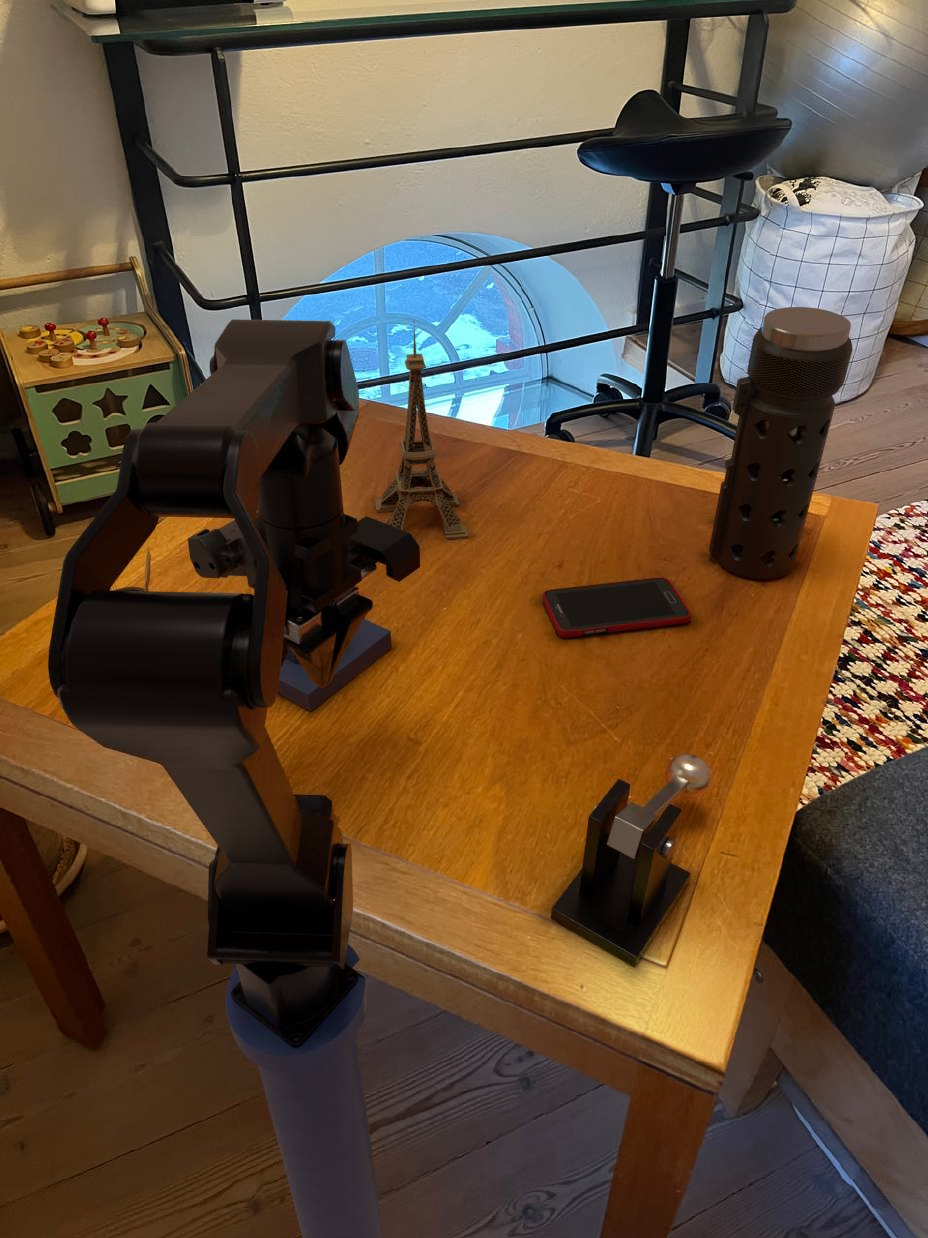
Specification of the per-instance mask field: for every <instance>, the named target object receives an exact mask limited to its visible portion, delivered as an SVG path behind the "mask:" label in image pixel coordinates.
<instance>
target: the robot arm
mask: <svg viewBox="0 0 928 1238" xmlns="http://www.w3.org/2000/svg"><path fill="white" fill-rule="evenodd" d="M335 337H336V326H335V325H334V324H333V322H332V321H331V320H295V319H293V320H290V319H288V320H287V319H284V320H283V319H235V318H234V319H231V320H230V321H229V322H228V323H227V324H226V326H225V328H224V329H223V330H222V332H221V333H220V335H219V337H218V338H217V340H216V341H215V343H214V346H213V347H214V351H213V356H212V357H211V358H210V360H209V373H210V375H209V376H208V377H207V378H206V379H205V380H204V381H202V382H201V383H200V384H198V386H197V387H195V388H194V389H193V390H192V391H191V392H190V393H189V394H187V395H186V396H185V397H184V398H183V399H182V400H180V402H178V403H177V404H176V405H174V406H173V408H171V409H170V410H169V411H168V412H167V413H166V414H164V415H163V416H162V417H161V418H160V419H159V420H157V421H156V422H148V423H147V424H145V425H144V427H143V428H134V429H131V430H129V432H128V434H127V436H126V437H125V440H124V443H123V447H122V451H121V457H120V464H119V471H118V477H117V484H116V489H115V491H114V492H113V493H112V494H111V496H110V497H109V499H108V500H107V501H106V502H105V504H104V505H103V506H102V508H100V510H99V511H98V513H97V514H96V515H95V516H94V518H93V519H92V521H90V523H89V524H88V525H87V527H86V528H85V529H84V531H82V533H81V535H79V536H78V538H77V539H76V541H74V543H73V545H72V546H71V547H70V549H68V551H67V552H66V555H65V557H64V559H63V562H62V567H61V574H60V579H59V586H58V592H57V598H56V604H55V610H54V615H53V622H52V628H51V635H50V641H49V647H48V659H47V670H48V678H49V684H50V686H51V689H52V692H53V694H54V696H55V697H56V698H57V699H58V701H59V704H60V707H61V709H62V711H63V712H64V714H65V716H66V718H67V719H68V721H69V723H71V725H72V726H74V727H75V728H76V729H77V730H78V731H80V732H82V733H83V734H84V735H86V736H87V737H88V738H90V739H92V740H93V741H94V742H95V743H97V744H98V745H100V746H101V747H103V748H106V749H109V750H112V751H116V752H119V753H122V754H125V755H128V756H131V757H132V756H133V757H135V758H138V759H142V760H146V761H149V762H153V763H156V764H158V765H160V766H161V767H163V769H164V771H165V772H166V773H167V775H168V776H169V778H170V779H171V781H172V782H173V783H174V785H175V786H176V787H177V789H178V790H179V792H180V794H181V795H182V796H183V797H184V799H185V800H186V802H187V804H188V805H189V806H190V808H191V809H192V810H193V812H194V813H195V815H196V817H198V819H199V820H200V822H201V823H202V825H203V826H204V828H205V829H206V831H207V833H208V834H209V835H210V836H211V838H212V839H213V840H214V842H215V843H216V846H217V847H216V851H215V854H214V858H213V859H212V860H210V862H209V864H208V879H207V882H208V885H207V923H208V924H207V925H208V934H207V935H208V937H207V949H206V950H207V951H206V956H207V959H208V960H209V961H210V962H211V963H212V964H213V965H215V966H216V965H217V966H223V965H224V964H225V965H229V964H230V965H235V967H236V966H237V970H238V973H239V977H240V982H239V983H238V984H237V985H236V986H235V987H234V988H233V990H232V991H231V997H232V1000H233V1001H234V1002H235V1003H236V1004H238V1005H239V1006H240V1007H241V1008H243V1009H244V1010H245V1011H247V1012H248V1013H249V1014H250V1015H252V1016H253V1017H254V1018H255V1019H257V1020H258V1021H259V1022H260V1023H262V1024H263V1025H264V1026H265V1027H267V1028H268V1029H269V1030H271V1031H272V1032H273V1033H274V1034H276V1035H277V1036H278V1037H279V1038H281V1039H282V1040H283V1041H284V1042H286V1043H287V1044H288V1045H290V1046H291V1047H292V1048H299V1047H301V1046H302V1045H303V1044H304V1043H305V1042H306V1040H307V1039H308V1038H309V1037H310V1036H311V1035H312V1034H313V1033H314V1031H315V1030H316V1029H317V1028H318V1027H319V1026H320V1025H321V1024H322V1022H323V1021H324V1020H325V1019H326V1018H327V1017H328V1016H329V1015H330V1013H331V1012H332V1011H333V1010H334V1009H335V1008H336V1007H337V1006H338V1004H339V1003H340V1002H341V1001H342V1000H343V999H344V998H345V997H346V995H347V994H348V993H349V992H350V991H351V990H352V989H353V988H354V986H355V985H356V984H357V983H358V981H359V975H358V973H359V972H358V971H357V970H356V969H354V967H353V968H351V967H350V966H348V965H347V964H345V958H346V952H347V945H348V944H349V937H350V931H351V926H352V919H353V912H354V887H353V886H354V884H353V879H354V878H353V850H352V845H351V844H350V843H344V837H343V832H342V830H341V828H340V827H339V822H340V817H339V815H337V814H336V812H335V806H334V803H333V800H332V799H331V798H330V797H329V796H327V795H325V794H307V793H306V794H304V793H303V794H302V793H301V794H300V793H294V791H293V788H292V786H291V784H290V781H289V779H288V777H287V775H286V772H285V770H284V767H283V764H282V763H281V760H280V758H279V756H278V753H277V751H276V749H275V746H274V744H273V742H272V739H271V737H270V735H269V732H268V730H267V728H266V720H267V715H268V711H269V708H272V707H273V705H274V703H275V702H276V699H277V695H278V694H277V692H278V687H279V680H280V672H281V667H282V665H283V663H284V661H285V659H286V657H287V654H288V647H289V648H290V649H291V650H292V652H293V653H294V655H295V656H296V658H297V659H298V661H299V662H300V664H301V665H302V667H303V668H304V670H305V672H306V673H307V675H308V676H309V678H310V679H311V681H312V682H313V683H314V684H315V685H317V686H319V687H320V688H324V687H325V686H326V685H328V684H329V683H330V682H331V680H332V678H333V676H334V674H335V672H336V670H337V668H338V666H339V664H340V662H341V660H342V658H343V656H344V654H345V652H346V650H347V648H348V646H349V644H350V642H351V641H352V639H353V637H354V635H355V633H356V632H357V630H358V628H359V626H360V625H361V623H362V621H363V619H366V616H367V614H369V612H371V611H372V610H373V608H374V602H373V600H372V599H370V598H368V597H366V596H364V595H362V594H360V591H359V588H358V587H357V585H358V584H359V583H361V582H362V581H363V579H365V578H367V577H368V576H370V575H371V574H373V573H374V572H375V571H376V570H377V569H378V568H377V563H379V564H382V565H384V566H385V575H386V577H388V578H390V579H392V580H394V581H396V582H398V583H401V582H402V581H403V580H404V579H406V578H407V577H408V576H410V575H411V574H413V573H414V572H416V571H417V570H418V569H420V568H421V547H420V544H419V542H418V541H417V540H416V538H415V537H414V535H413V534H412V533H410V532H409V531H406V530H404V529H402V530H401V529H398V528H396V527H393V526H391V525H388V524H386V523H387V522H383V521H381V520H378V519H376V518H373V517H370V516H369V515H366V516H364V517H362V518H361V519H359V520H358V518H356V517H354V516H351V515H348V514H346V513H344V510H345V509H344V501H343V500H344V499H343V488H342V479H341V466H342V464H343V463H344V461H345V459H346V456H347V454H348V451H349V449H350V445H351V441H352V438H353V435H354V432H355V428H356V426H357V422H358V418H359V415H360V403H359V400H360V390H359V386H358V382H357V378H356V374H355V370H354V367H353V362H352V358H351V354H350V350H349V346H348V343H347V341H346V340H345V339H335ZM333 339H335V340H333ZM160 518H198V519H199V518H203V519H234V520H232V521H230V522H228V523H226V524H224V525H222V526H221V527H219V528H213V529H211V530H210V529H209V528H204V529H202V530H200V531H199V532H197V533H195V534H193V535H191V536H189V537H188V538H187V542H188V543H187V546H188V554H189V558H190V562H191V564H192V566H193V568H194V570H195V573H196V574H197V575H198V576H199V577H201V578H203V579H220V578H224V579H226V578H229V577H230V576H231V577H246V580H247V586H248V587H249V588H250V589H253V594H252V593H241V592H239V593H238V592H203V591H202V592H199V591H198V592H197V591H195V592H194V591H157V590H151V591H150V590H148V591H115V590H116V589H114V590H113V589H112V587H113V586H114V583H115V582H116V581H117V580H118V579H119V577H120V576H121V575H122V573H123V572H124V571H125V569H126V568H127V567H128V565H129V564H130V563H131V562H132V560H133V559H134V557H136V555H137V554H138V552H139V551H140V550H141V548H142V547H143V545H144V544H145V543H146V542H147V540H148V539H149V538H150V537H151V535H152V534H153V532H154V531H155V530H156V528H157V526H158V523H159V520H160ZM112 585H113V586H112ZM111 589H112V590H111ZM287 646H288V647H287ZM351 976H353V977H355V978H354V979H352V980H350V979H349V977H351ZM239 992H241V993H242V994H241V995H240V996H236V994H237V993H239ZM296 1037H298V1038H300V1039H299V1040H298V1041H296V1042H295V1041H293V1039H294V1038H296Z"/></svg>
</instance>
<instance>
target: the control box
mask: <svg viewBox="0 0 928 1238" xmlns="http://www.w3.org/2000/svg"><path fill="white" fill-rule="evenodd" d="M287 647H288V646H287ZM391 649H392V631H391V630H389V629H388V628H385V627H383V626H380V625H378V624H376V623H374V622H372V621H370V620H367V619H366V618H364V619H363V621H362V623H361V625H360V626H359V628H358V630H357V632H356V633H355V635H354V637H353V639H352V641H351V642H350V644H349V646H348V648H347V650H346V652H345V654H344V656H343V658H342V660H341V662H340V664H339V666H338V668H337V670H336V672H335V674H334V676H333V678H332V680H331V682H330V683H329V684H328V685H326V686H325V687H324V688H320V687H319V686H317V685H315V684H314V683H313V682H312V681H311V679H310V678H309V676H308V675H307V673H306V672H305V670H304V668H303V667H302V665H301V664H300V662H299V661H298V659H297V658H296V656H295V655H294V653H293V652H292V650H291V649H290V648H289V647H288V654H287V657H286V659H285V661H284V663H283V665H282V667H281V672H280V680H279V687H278V692H277V695H279V696H280V697H282V698H284V699H286V700H287V701H290V702H292V703H293V704H295V705H297V706H299V707H301V708H303V709H304V710H306V711H307V712H313V710H315V709H316V708H318V707H319V706H320V705H322V703H324V702H325V701H326V700H327V699H329V698H331V697H332V695H334V694H335V693H337V692H338V691H339V690H340V689H341V688H343V687H344V686H345V685H347V684H348V683H350V681H352V680H353V679H354V678H355V677H356V676H358V675H359V674H360V673H361V672H363V671H364V670H365V669H367V668H368V667H369V666H370V665H372V664H373V663H374V662H375V661H377V660H378V659H379V658H381V657H382V656H384V655H385V653H387V652H388V651H390V650H391Z"/></svg>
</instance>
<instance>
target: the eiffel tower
mask: <svg viewBox="0 0 928 1238" xmlns="http://www.w3.org/2000/svg"><path fill="white" fill-rule="evenodd" d="M412 321H413V322H415V319H413V320H412ZM415 328H416V327H413V352H412V354H411V353H410V354H405V355H406V359H405V360H404V364H405V365H404V366H405V368H406V370H408V371H409V375H408V376H409V378H408V396H407V411H406V421H405V432H404V439H400V442H399V450H400V455H401V462H400V465H399V468H398V469H395V471H394V472H395V478H394V479H393V480H392V481H391V482H390V484H389V485H387V488H386V489H385V490H384V491H383V492H382V494H381V496H380V498H377V499H374V505H375V510H376V511H375V512H376V513H386V512H387V513H390V512H392V514H391V515H390V517H389V518H388V520H387V521H386V522H385V523H386V524H388V525H391V526H393V527H396V528H398V529H401V530H403V527H404V523H405V519H406V515H407V510H408V509H409V508H410V507H411V506H413V505H414V504H416V503H419V502H427V503H430V504H431V505H433V506H434V507H436V508H437V510H438V512H439V515H440V516H441V519H442V521H443V524H442V527H443V528H442V529H443V533H444V537H445V540H447V541H449V540H450V541H451V540H461V539H470V538H469V537H470V536H469V532H468V529H467V525H466V524H465V523H463V522H462V521H461V518H460V516H458V514H457V513H456V512H455V510H454V509H453V508H452V507H454V508H455V507H460V503H459V499H458V495H457V493H453V492H452V490H451V489H450V487H449V486H448V485H447V483H446V482H445V481H444V479H442V477H441V475H440V470H439V466H436V463H435V458H436V457H437V456H438V455H437V452H436V447H435V444H434V442H433V441H434V440H433V437H430V429H429V424H428V422H429V421H428V416H427V409H426V401H425V394H424V393H425V392H424V384H423V377H422V370H424V369H426V368H427V366H426V363H425V359H424V356H423V353H417V343H416V332H415ZM417 416H418V423H419V430H420V436H421V439H418V440H416V427H417V426H416V425H417ZM418 465H426V466H425V467H426V468H425V469H424V468H423V469H413V466H418Z"/></svg>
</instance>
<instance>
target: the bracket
mask: <svg viewBox="0 0 928 1238" xmlns="http://www.w3.org/2000/svg"><path fill="white" fill-rule="evenodd" d="M630 790H631V783H629V782H626V781H625V780H622V779H620V778H618V779H617V780H616V781H615V783H614V784H613V785H612V786H611V787H610V789H609V790H608V791H607V793H606V794H605V795H604V796H603V798H602V799H601V800H600V801H599V802H597V803H596V804H595V806H593V809H592V811H591V813H590V814H589V815H588V818H587V827H586V834H585V841H584V842H585V843H584V851H583V859H582V867H581V869H580V870H579V871H578V873H577V874H576V875H575V877H574V878H573V879H572V881H570V883H569V885H567V887H566V889H565V890H564V891H563V892H562V894H561V895H560V897H559V898H558V899H557V900H556V902H555V903H554V904H553V906H552V907H551V910H550V919H552V920H553V921H554V922H556V923H559V924H560V925H562V926H563V927H565V928H567V929H569V930H570V931H572V932H574V933H576V934H577V935H578V936H580V937H582V938H584V939H586V940H587V941H589V942H591V943H592V944H594V945H596V946H598V947H599V948H601V949H603V950H604V951H606V952H608V953H609V954H610V955H613V956H614V957H616V958H617V959H619V960H621V961H623V962H625V963H626V964H628V965H629V966H631V967H633V968H636V966H637V965H638V963H639V962H640V960H641V959H642V957H643V955H644V954H645V953H646V951H647V949H648V947H649V946H650V944H651V943H652V941H653V940H654V938H655V937H656V935H657V933H658V932H659V931H660V929H661V927H662V926H663V924H664V922H665V921H666V919H667V918H668V916H669V915H670V913H671V911H672V910H673V908H674V907H675V905H676V903H677V902H678V900H679V899H680V897H681V895H682V894H683V892H684V891H685V889H686V887H687V886H688V885H689V883H690V878H691V874H692V873H691V872H689V871H688V870H686V869H684V868H682V867H680V866H678V865H677V864H674V863H673V862H672V859H673V854H674V851H675V847H676V845H677V841H676V840H677V835H678V830H679V825H680V822H681V817H682V812H683V809H681V808H679V807H678V806H676V805H674V804H669V805H668V806H667V807H666V809H665V810H664V812H663V813H662V814H661V816H660V817H659V818H658V819H657V821H656V823H655V824H654V826H653V827H652V828H651V830H650V831H649V833H648V834H647V835H646V837H645V838H644V840H643V841H642V842H641V845H640V851H639V855H638V856H637V857H636V858H635V859H633V858H631V857H629V856H627V855H625V854H623V853H621V852H620V851H618V850H616V849H614V848H612V847H610V846H608V845H607V841H608V838H609V834H610V831H611V828H612V824H613V821H614V817H615V816H616V815H617V814H618V813H619V812H620V811H621V810H623V809H624V808H625V807H626V806H627V805H628V804H629V797H630Z"/></svg>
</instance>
